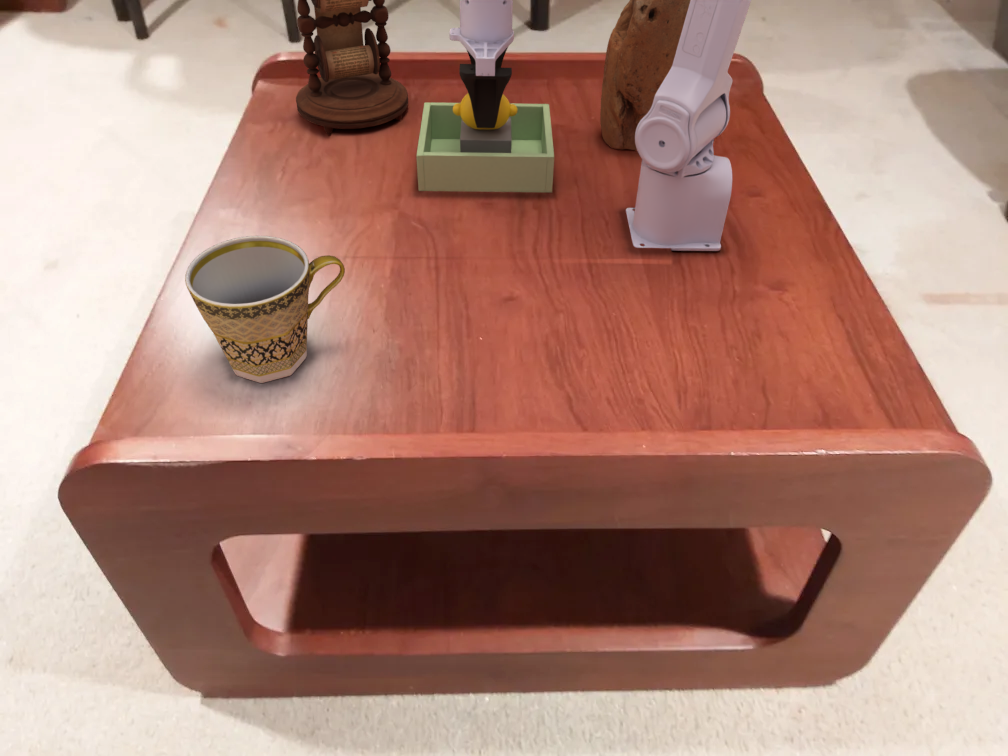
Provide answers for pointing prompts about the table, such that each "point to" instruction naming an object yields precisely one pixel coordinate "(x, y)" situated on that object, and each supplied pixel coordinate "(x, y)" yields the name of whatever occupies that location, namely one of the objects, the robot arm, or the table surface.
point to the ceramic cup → (258, 302)
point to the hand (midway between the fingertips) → (486, 111)
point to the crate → (485, 154)
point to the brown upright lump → (638, 65)
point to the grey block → (486, 139)
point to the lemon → (468, 118)
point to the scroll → (347, 67)
